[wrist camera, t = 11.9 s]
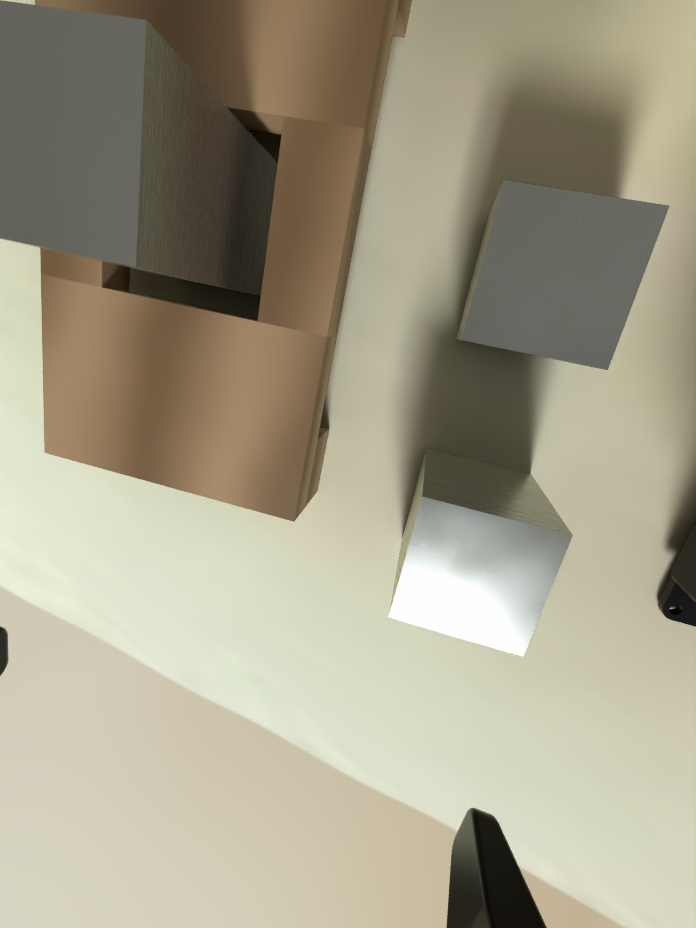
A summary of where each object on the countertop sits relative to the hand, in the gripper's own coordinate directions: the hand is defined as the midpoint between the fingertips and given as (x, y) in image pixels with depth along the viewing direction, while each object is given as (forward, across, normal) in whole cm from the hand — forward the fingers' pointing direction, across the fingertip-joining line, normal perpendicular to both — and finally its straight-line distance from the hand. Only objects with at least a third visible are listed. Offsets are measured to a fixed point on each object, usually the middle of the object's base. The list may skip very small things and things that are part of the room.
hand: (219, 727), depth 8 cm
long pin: (+13, +8, -9) cm, 17 cm away
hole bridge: (+13, +8, -9) cm, 17 cm away
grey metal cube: (+13, -4, -10) cm, 17 cm away
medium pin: (+13, -5, -1) cm, 14 cm away
